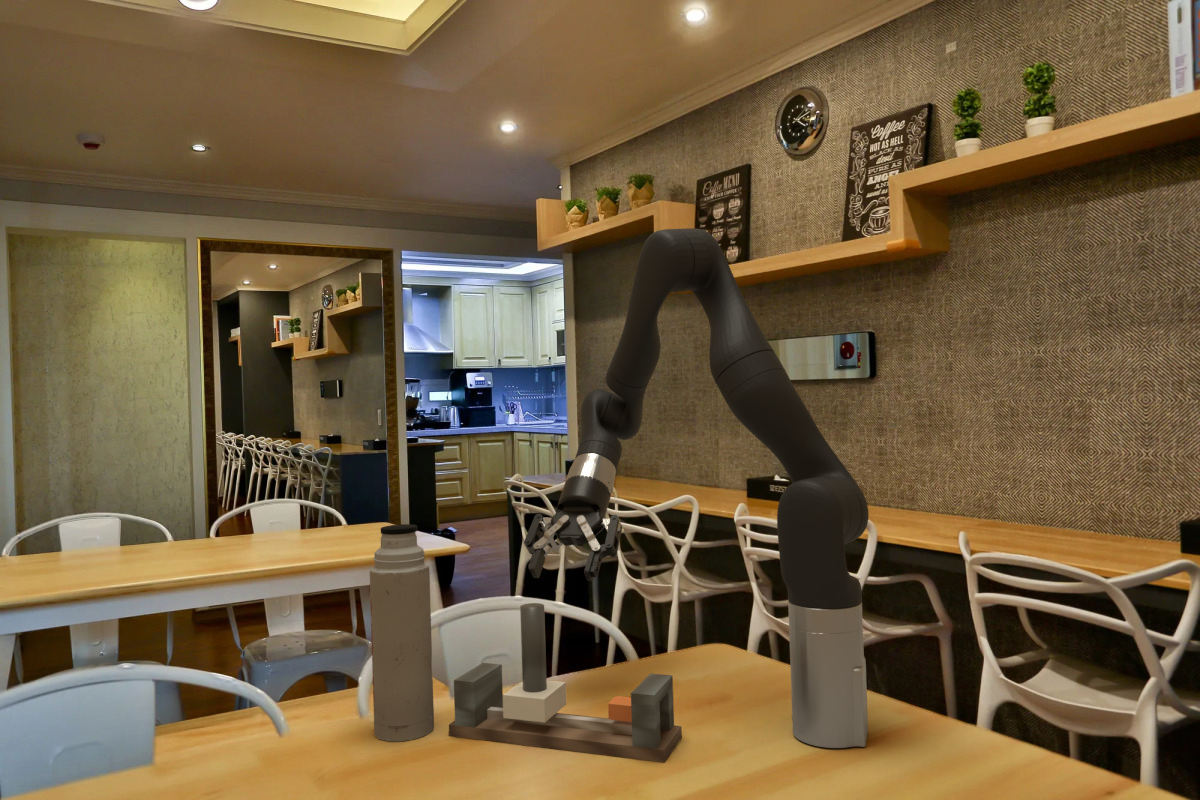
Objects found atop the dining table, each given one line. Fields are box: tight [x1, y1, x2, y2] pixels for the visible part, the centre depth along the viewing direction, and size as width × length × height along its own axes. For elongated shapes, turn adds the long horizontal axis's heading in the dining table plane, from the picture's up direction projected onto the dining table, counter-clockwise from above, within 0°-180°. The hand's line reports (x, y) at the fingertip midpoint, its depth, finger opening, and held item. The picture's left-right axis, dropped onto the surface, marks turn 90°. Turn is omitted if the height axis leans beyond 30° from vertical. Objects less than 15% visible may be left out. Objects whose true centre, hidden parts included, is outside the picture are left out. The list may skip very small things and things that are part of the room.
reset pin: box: [607, 695, 632, 722], centre depth 108 cm, size 5×3×2 cm, turn 69°
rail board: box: [448, 662, 683, 763], centre depth 112 cm, size 30×8×8 cm, turn 69°
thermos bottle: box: [369, 523, 435, 742], centre depth 116 cm, size 8×8×28 cm
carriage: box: [503, 602, 567, 723], centre depth 113 cm, size 6×7×14 cm
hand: (560, 576), depth 122 cm, fingers open, 8 cm apart
